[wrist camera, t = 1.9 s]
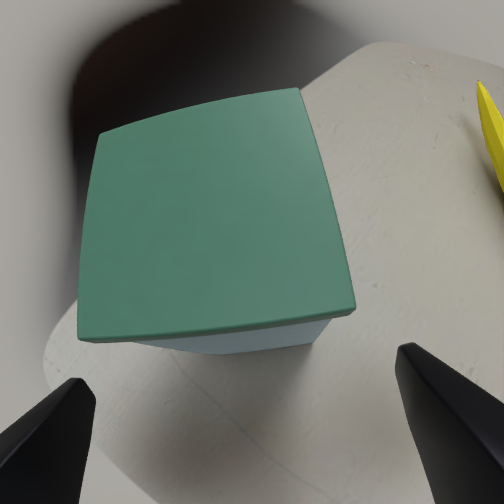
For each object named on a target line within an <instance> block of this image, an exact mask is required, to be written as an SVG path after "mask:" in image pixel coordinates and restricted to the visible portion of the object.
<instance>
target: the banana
mask: <svg viewBox="0 0 504 504" xmlns="http://www.w3.org/2000/svg"><path fill="white" fill-rule="evenodd" d="M477 100H478V108H479V114H480V120H481V126H482V131H483V135H484V139H485V143H486V146H487V149H488V152H489V155H490V158H491V160H492V163H493V166H494V169H495V171H496V174H497V177H498V180H499V183H500V185H501V188H502V190H503V193H504V120H503V118H502V116H501V115H500V113H499V111H498V110H497V108H496V106H495V104H494V103H493V101H492V99H491V97H490V95H489V94H488V92H487V90H486V89H485V88H484V86H483V85H482V83H481V82H480V81H477Z"/></svg>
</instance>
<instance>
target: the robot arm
mask: <svg viewBox="0 0 504 504" xmlns="http://www.w3.org/2000/svg"><path fill="white" fill-rule="evenodd" d="M395 374H396V378H397V382H398V386H399V389H400V393H401V397H402V401H403V405H404V409H405V413H406V417H407V421H408V424H409V427H410V430H411V433H412V435H413V438H414V441H415V444H416V447H417V449H418V452H419V455H420V458H421V461H422V464H423V467H424V470H425V473H426V476H427V479H428V482H429V485H430V488H431V491H432V495H433V498H434V501H435V504H504V403H502V402H501V401H499V400H498V399H497V398H495V397H494V396H492V395H491V394H489V393H488V392H486V391H485V390H483V389H482V388H481V387H479V386H478V385H476V384H475V383H473V382H472V381H470V380H469V379H467V378H466V377H464V376H463V375H462V374H460V373H459V372H457V371H456V370H454V369H453V368H451V367H450V366H448V365H447V364H445V363H444V362H442V361H441V360H439V359H438V358H436V357H435V356H433V355H432V354H430V353H429V352H428V351H426V350H425V349H423V348H422V347H420V346H419V345H417V344H416V343H413V342H411V343H407V344H403V345H400V346H399V347H398V350H397V357H396V364H395ZM95 406H96V398H95V395H94V394H93V392H92V391H91V389H90V388H89V387H88V385H87V384H86V382H85V381H84V380H83V379H82V378H70V379H68V380H67V381H66V382H65V383H63V384H62V385H61V386H60V387H58V388H57V389H56V390H54V391H53V392H52V393H51V394H49V395H48V396H47V397H46V398H44V399H43V400H42V401H41V402H39V403H38V404H37V405H36V406H34V407H33V408H32V409H31V410H29V411H28V412H27V413H26V414H25V415H23V416H22V417H21V418H19V419H18V420H17V421H16V422H14V423H13V424H12V425H11V426H9V427H8V428H7V429H6V430H4V431H3V432H2V433H1V434H0V504H79V498H80V493H81V487H82V481H83V476H84V471H85V466H86V461H87V456H88V452H89V447H90V442H91V435H92V427H93V419H94V412H95Z"/></svg>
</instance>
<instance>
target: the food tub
mask: <svg viewBox="0 0 504 504" xmlns="http://www.w3.org/2000/svg"><path fill="white" fill-rule="evenodd" d="M355 309H356V301H355V296H354V291H353V286H352V281H351V276H350V271H349V266H348V262H347V257H346V253H345V248H344V244H343V239H342V235H341V231H340V227H339V223H338V219H337V215H336V211H335V207H334V203H333V199H332V195H331V191H330V188H329V184H328V180H327V177H326V173H325V170H324V166H323V163H322V159H321V156H320V152H319V149H318V146H317V142H316V139H315V136H314V133H313V129H312V126H311V123H310V120H309V117H308V114H307V111H306V108H305V105H304V102H303V99H302V96H301V93H300V90H299V89H298V88H289V89H282V90H275V91H268V92H262V93H256V94H250V95H244V96H239V97H233V98H228V99H223V100H219V101H214V102H209V103H205V104H200V105H196V106H192V107H188V108H184V109H180V110H176V111H172V112H168V113H165V114H161V115H158V116H154V117H151V118H148V119H144V120H141V121H137V122H134V123H131V124H128V125H125V126H122V127H119V128H116V129H113V130H110V131H107V132H104V133H102V134H100V135H99V139H98V143H97V147H96V152H95V157H94V162H93V167H92V172H91V177H90V183H89V189H88V195H87V201H86V209H85V216H84V223H83V232H82V242H81V252H80V265H79V280H78V306H77V337H78V339H79V340H80V341H85V342H91V343H116V342H135V343H140V344H145V345H151V346H157V347H163V348H169V349H175V350H182V351H189V352H196V353H203V354H211V355H223V354H233V353H243V352H251V351H260V350H267V349H275V348H282V347H289V346H296V345H303V344H309V343H313V342H314V341H315V340H316V339H317V337H318V336H319V335H320V334H321V332H322V331H323V330H324V328H325V327H326V326H327V325H328V323H329V322H330V321H331V319H332V318H337V317H343V316H348V315H350V314H351V313H352V312H353V311H354V310H355Z"/></svg>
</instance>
